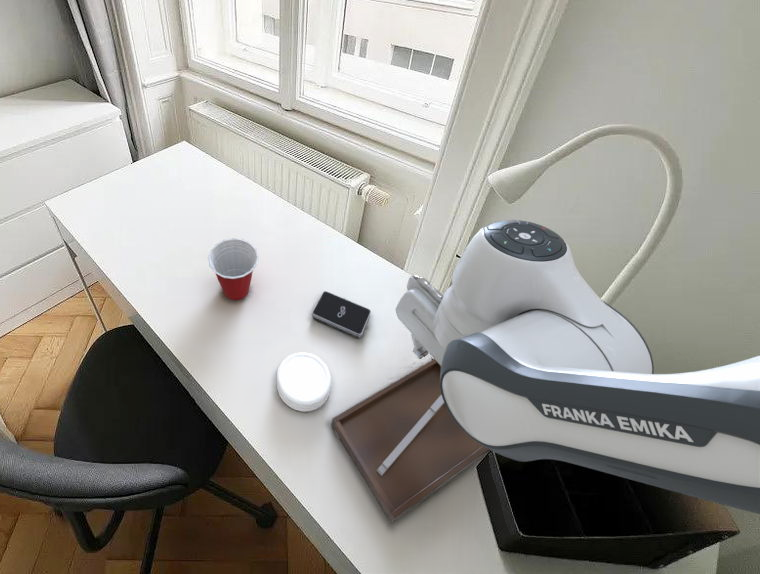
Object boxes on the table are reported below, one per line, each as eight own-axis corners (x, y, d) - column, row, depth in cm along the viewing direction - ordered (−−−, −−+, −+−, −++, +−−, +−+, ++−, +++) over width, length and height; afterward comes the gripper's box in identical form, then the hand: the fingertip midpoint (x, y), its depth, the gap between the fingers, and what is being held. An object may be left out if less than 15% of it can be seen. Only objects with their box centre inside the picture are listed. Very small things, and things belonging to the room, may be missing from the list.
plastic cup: (223, 317, 89) (218, 282, 81) (206, 282, 96) (201, 247, 89) (267, 299, 92) (267, 264, 84) (248, 266, 100) (246, 231, 92)
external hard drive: (359, 340, 84) (360, 335, 82) (310, 318, 88) (310, 313, 87) (370, 315, 88) (371, 310, 87) (322, 295, 93) (323, 290, 91)
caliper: (447, 390, 75) (457, 374, 71) (453, 395, 74) (463, 378, 70) (376, 471, 65) (382, 457, 61) (381, 477, 65) (388, 463, 61)
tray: (504, 439, 69) (510, 433, 67) (391, 523, 61) (394, 518, 59) (435, 362, 80) (438, 356, 78) (331, 424, 71) (332, 418, 70)
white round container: (286, 419, 72) (286, 411, 70) (270, 368, 80) (270, 358, 77) (338, 403, 74) (340, 394, 72) (317, 354, 82) (319, 345, 79)
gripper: (395, 277, 56) (378, 332, 65) (531, 416, 42) (486, 462, 51) (430, 260, 58) (409, 316, 67) (570, 387, 44) (520, 437, 53)
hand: (443, 380), depth 59 cm, fingers open, 8 cm apart
